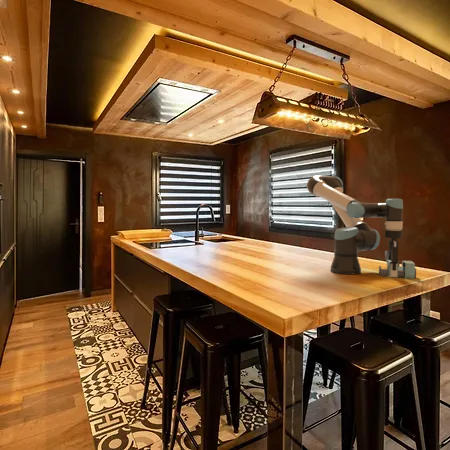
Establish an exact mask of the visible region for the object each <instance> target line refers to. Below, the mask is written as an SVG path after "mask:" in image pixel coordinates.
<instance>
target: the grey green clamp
mask: <svg viewBox="0 0 450 450" xmlns="http://www.w3.org/2000/svg"><path fill="white" fill-rule="evenodd" d="M401 267H403V270H398V278H405V279H414V280H415V279H416V278H417V268H416V264H415V262H413V261H412V260H402V261H401ZM378 275H379V276H383V277H389V269H387V268H382V266H381V265H378Z"/></svg>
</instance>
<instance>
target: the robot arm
mask: <svg viewBox="0 0 450 450" xmlns="http://www.w3.org/2000/svg"><path fill="white" fill-rule="evenodd" d="M343 185H344V183H343V180H342V179H341V178H340V177H338V176H334V175H320V174H319V175H318V174H317V175H313V176H311V177H310V178H309V179H308V180H307V183H306V189H307V190H308V193H310V194H311V195H313V196H314V197H317V198H319V197H320V198H322V199H323V200H325V201H327V202H329V203H331V205H332V206H333V207H332V208H334V210H335V211H336V213H337V214H338V216H339V218H340V219H341V221H342V222H343V224H344V225H345V227H339V228H337V229H336V230H334V236H333V237H334V242H333V243H334V245H333V246H334V249H333V250H334V256H333V260H332V262H331V265H330V272H332V273H336V274H343V275H359V274H361V272H362V268H361V264H360V261H359V258H358V255H359V254H358V253H359V252H363V251H367V252H368V251H373V250H375V249H377V248H378V247H379V244H380V242H381V241H380V240H381V235H380V233H379V232H378V230H376V229H375V228H371V227H370V226H369V224H368V223H367V222H363V221H362V218H363V219H364V218H365V219H366V218H372V219H373V218H385V222H384V223H383V225H384V226H385V231H384V232H385V233H384V237H385V238H386V239H387V238H388V239H389V240H388V251H387V252H388V260H391V262H390V264H391V276H390V277H389V278H396V277H397V263H398V261H399V241H398V239H402V238H403V226H404V225H403V222H404V221H403V215H404V214H403V213H404V204H403V203H404V201H403V199H401V198H387V199H386V200H385V202H361V201H358V200H357V199H355V198H353V197H351V196H349V195H347V194H345V193H343V192H344V186H343ZM395 260H396V261H395Z"/></svg>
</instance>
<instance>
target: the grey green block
mask: <svg viewBox="0 0 450 450" xmlns="http://www.w3.org/2000/svg"><path fill="white" fill-rule="evenodd" d="M395 261H396V260H395ZM390 262H391V260H387V262H386V269H389V276H388V277H389V278H391V277H390V276H391V264H390ZM398 267H400V261H399V260H398V263H397V277H395V278H397V279H398V278H399V277H398Z"/></svg>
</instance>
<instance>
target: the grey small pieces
mask: <svg viewBox="0 0 450 450" xmlns="http://www.w3.org/2000/svg"><path fill="white" fill-rule="evenodd" d="M388 252H389V251H387V250H385V251H384V258H385V262H386V263H387V260H388ZM398 270H403V267H402V266H399V267H398Z"/></svg>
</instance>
